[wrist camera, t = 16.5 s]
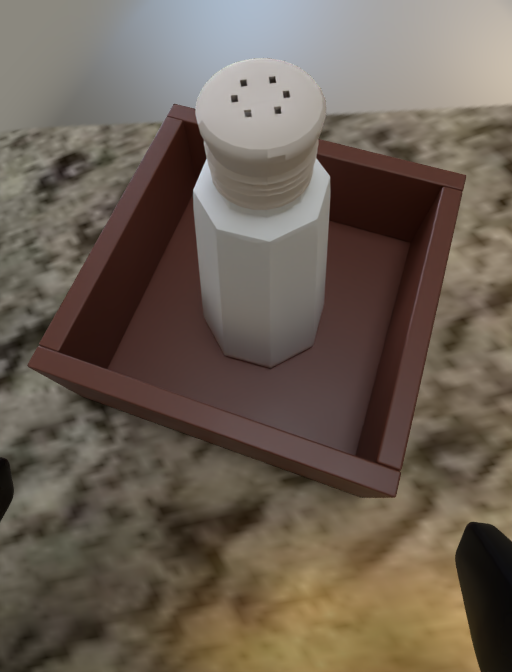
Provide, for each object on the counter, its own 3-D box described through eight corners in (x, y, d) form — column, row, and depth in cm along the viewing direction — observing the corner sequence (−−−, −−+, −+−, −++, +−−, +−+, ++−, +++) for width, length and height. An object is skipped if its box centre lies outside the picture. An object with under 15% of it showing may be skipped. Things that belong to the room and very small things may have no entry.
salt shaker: (314, 254, 20) (364, 0, 10) (333, 362, 18) (420, 188, 8) (200, 265, 20) (131, 21, 10) (207, 376, 18) (130, 217, 8)
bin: (363, 498, 17) (396, 498, 13) (81, 396, 19) (25, 366, 14) (426, 240, 21) (466, 174, 17) (191, 177, 23) (173, 102, 18)
